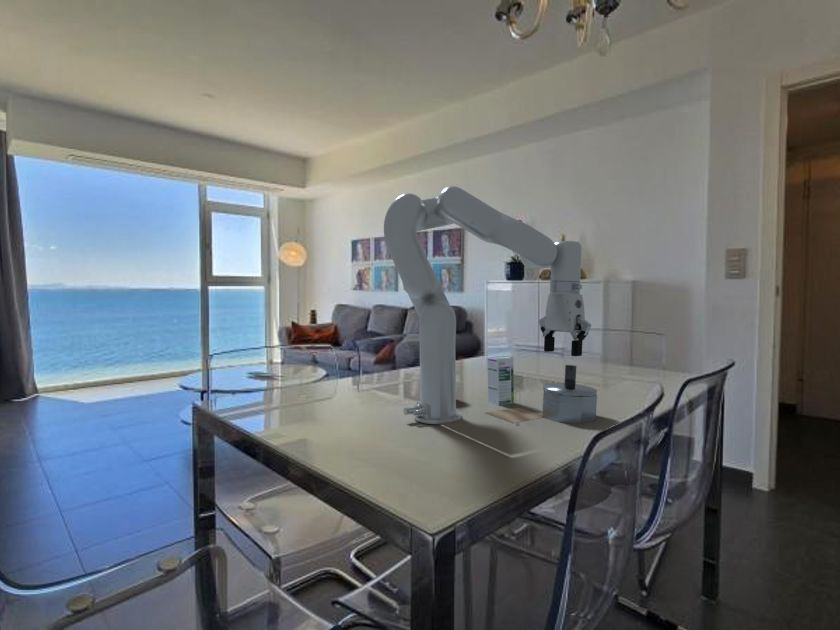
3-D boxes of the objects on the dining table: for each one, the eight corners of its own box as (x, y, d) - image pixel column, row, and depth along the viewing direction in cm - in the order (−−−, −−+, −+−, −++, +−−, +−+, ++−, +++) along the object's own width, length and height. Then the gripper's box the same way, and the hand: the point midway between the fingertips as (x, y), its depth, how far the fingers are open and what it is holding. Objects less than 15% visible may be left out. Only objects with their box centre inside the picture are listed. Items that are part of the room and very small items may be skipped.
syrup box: (498, 407, 139) (497, 358, 139) (487, 403, 145) (487, 355, 144) (514, 405, 141) (514, 356, 141) (502, 401, 147) (502, 354, 146)
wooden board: (512, 425, 120) (512, 422, 120) (484, 415, 130) (484, 412, 130) (548, 418, 125) (548, 416, 125) (518, 409, 136) (518, 407, 136)
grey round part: (569, 426, 117) (573, 371, 116) (531, 413, 128) (533, 362, 128) (606, 420, 124) (609, 368, 123) (566, 408, 135) (569, 360, 135)
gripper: (601, 289, 118) (598, 357, 119) (551, 289, 134) (549, 349, 134) (580, 288, 115) (577, 358, 116) (531, 288, 130) (529, 350, 131)
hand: (562, 353), depth 125 cm, fingers open, 9 cm apart
